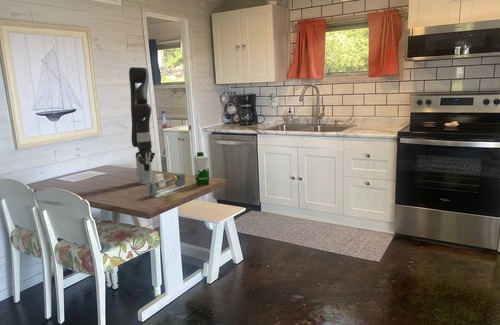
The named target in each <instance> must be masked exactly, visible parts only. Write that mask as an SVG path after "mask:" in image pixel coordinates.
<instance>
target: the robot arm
mask: <svg viewBox="0 0 500 325" xmlns="http://www.w3.org/2000/svg"><path fill="white" fill-rule="evenodd" d="M128 77H129V78H128V79H129V87H130V89H129V90H130V113H131V114H130V115H131V144H132V146H133V147H134V148H137V149H138V151H137V152H136V153H135V161H136V163H135V164H136V169H135V174H136V182H137V184H139V185H146V184H147V185H149V184H152V183H153V170H152V163H153V160H154V158H155V155H156V153H155V152H153V150H152V148H153V145H152V144H153V143H152V135H151V129H150V121H151V120H150V119H151V115H152V107H151V105H150V104H149V103H148V88H149V79H150V78H149V70H148V68H146V67H140V66H139V67H137V66H136V67H135V66H133V67H130V68H129V71H128ZM136 84H140V85H139V86H136Z"/></svg>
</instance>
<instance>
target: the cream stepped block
mask: <svg viewBox="0 0 500 325" xmlns="http://www.w3.org/2000/svg"><path fill="white" fill-rule="evenodd" d="M153 178H154V180H153V179H152V180H153V182H152V183H153V184H156V183H158V186H156V188H157V190H162V189H165V188H167V185H166V184H167V183H165V180H166V179H165V178H164V173H158V174H155V175H154V176H153ZM153 184H152V185H153Z"/></svg>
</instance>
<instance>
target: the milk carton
mask: <svg viewBox="0 0 500 325" xmlns="http://www.w3.org/2000/svg"><path fill="white" fill-rule="evenodd" d="M193 162H194V163H193V164H194V177H195V182H196V185H197V186H209V185H210V169H209V168H210V166H209V156H208V155H207V154H204V152H203V151H199V152H197V153H196V155H194V156H193Z"/></svg>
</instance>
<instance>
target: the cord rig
mask: <svg viewBox="0 0 500 325" xmlns="http://www.w3.org/2000/svg"><path fill="white" fill-rule="evenodd" d="M170 182H174V184H173V185H170V186H168V187H167V186H166V187H165V188H162V189H157V188H156V186H158V183H156V184H152V183H148V184H147V188H148V189H147V190H148V194H146V197H151V198H160V197H162V196H165V195H168V194H171V193H172V192H173V193H174V192H176V191H178V190H180V189H183V188H185V187H187V184H186V176H185V173H182V172H176V173H174V174H173V175H172V176H171V178H167V179H165V183H166V184H167V183H170Z"/></svg>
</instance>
